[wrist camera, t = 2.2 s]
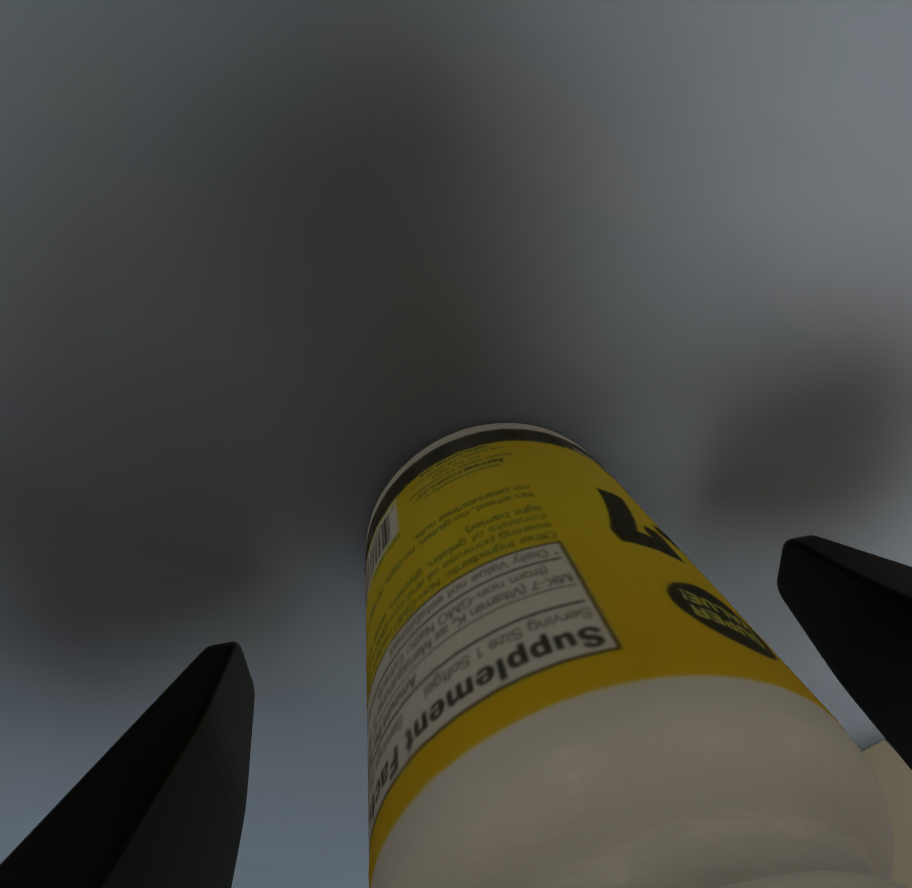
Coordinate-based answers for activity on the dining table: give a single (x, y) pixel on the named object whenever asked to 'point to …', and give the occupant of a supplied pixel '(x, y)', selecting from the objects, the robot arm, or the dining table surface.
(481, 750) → the supplement bottle
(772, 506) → the dining table surface
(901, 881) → the cream block
